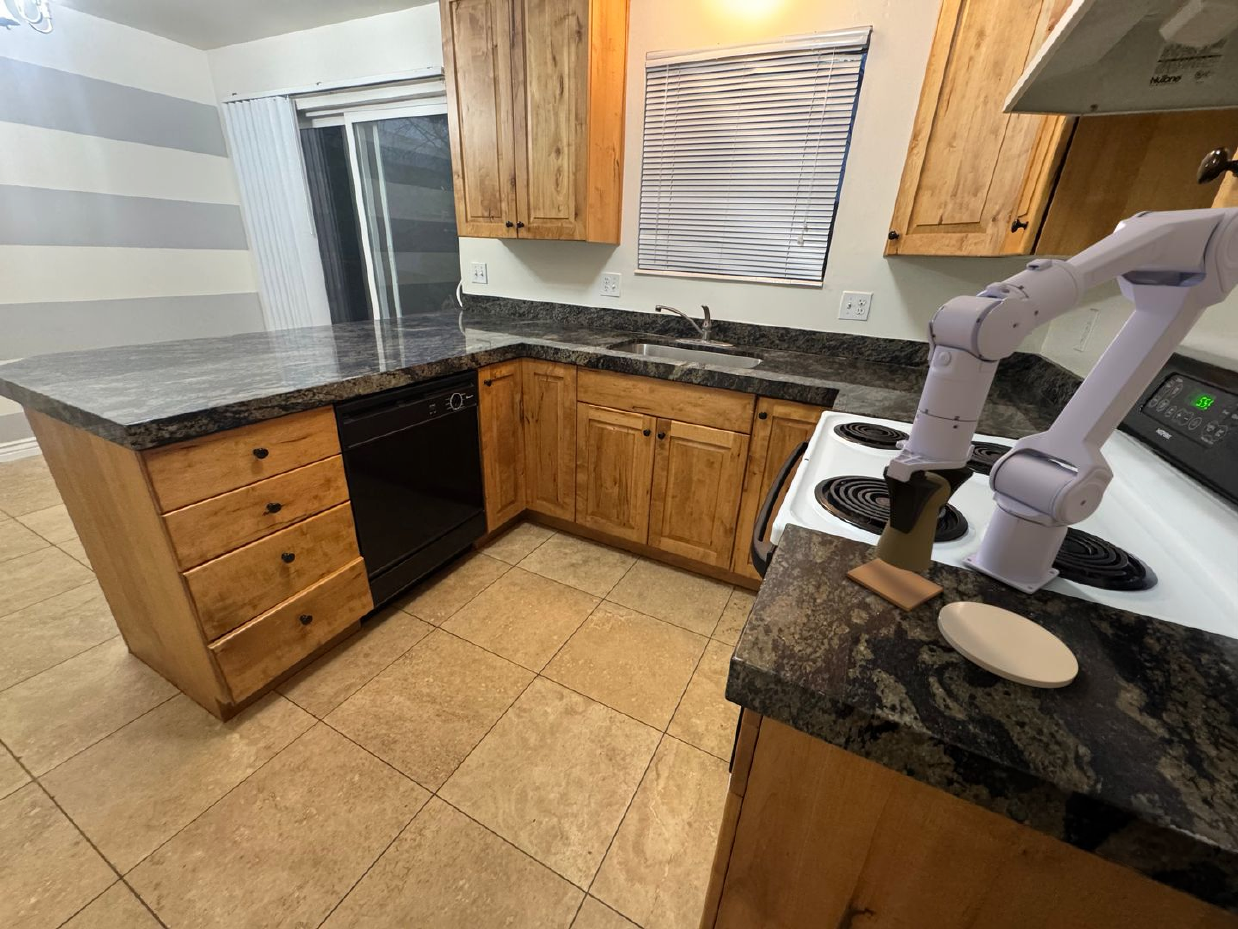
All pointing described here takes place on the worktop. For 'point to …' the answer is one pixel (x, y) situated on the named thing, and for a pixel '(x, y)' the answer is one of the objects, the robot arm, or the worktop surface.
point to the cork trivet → (894, 584)
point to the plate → (1007, 644)
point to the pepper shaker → (914, 534)
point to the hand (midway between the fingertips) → (912, 524)
